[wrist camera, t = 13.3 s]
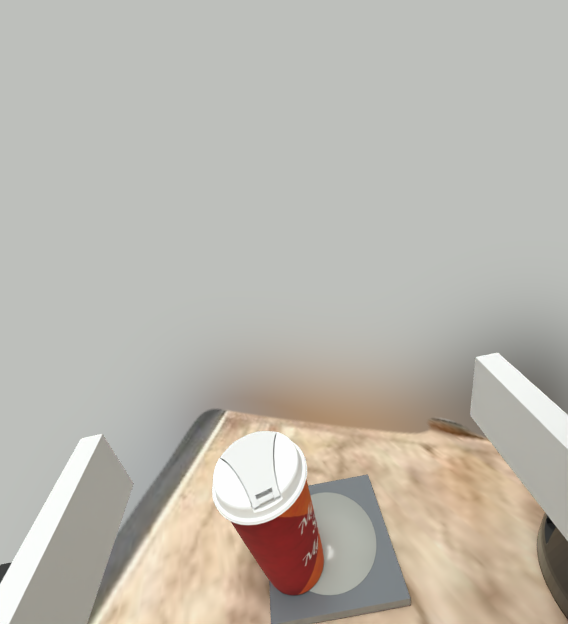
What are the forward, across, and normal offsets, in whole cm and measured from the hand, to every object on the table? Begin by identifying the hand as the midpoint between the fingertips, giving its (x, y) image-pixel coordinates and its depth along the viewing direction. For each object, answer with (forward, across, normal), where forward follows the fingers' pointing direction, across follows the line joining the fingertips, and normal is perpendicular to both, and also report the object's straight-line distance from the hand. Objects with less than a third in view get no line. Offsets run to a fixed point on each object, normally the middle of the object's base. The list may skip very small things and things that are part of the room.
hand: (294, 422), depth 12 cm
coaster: (+10, 0, -28) cm, 30 cm away
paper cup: (+9, -4, -27) cm, 29 cm away
